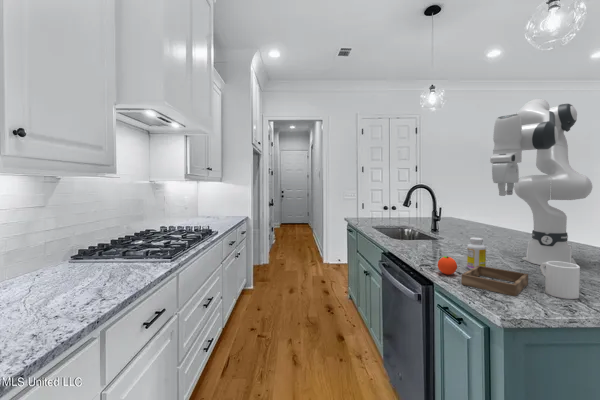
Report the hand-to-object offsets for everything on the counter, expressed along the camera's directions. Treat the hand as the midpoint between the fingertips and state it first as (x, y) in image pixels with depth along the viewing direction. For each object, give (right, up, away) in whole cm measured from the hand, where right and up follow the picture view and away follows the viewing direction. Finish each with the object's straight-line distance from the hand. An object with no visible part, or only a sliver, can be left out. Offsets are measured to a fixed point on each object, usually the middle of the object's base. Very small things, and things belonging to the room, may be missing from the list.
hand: (506, 195), depth 113 cm
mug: (+6, -32, -15) cm, 36 cm away
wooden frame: (-8, -32, -6) cm, 33 cm away
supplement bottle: (-4, -31, +12) cm, 33 cm away
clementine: (-20, -31, +6) cm, 37 cm away
